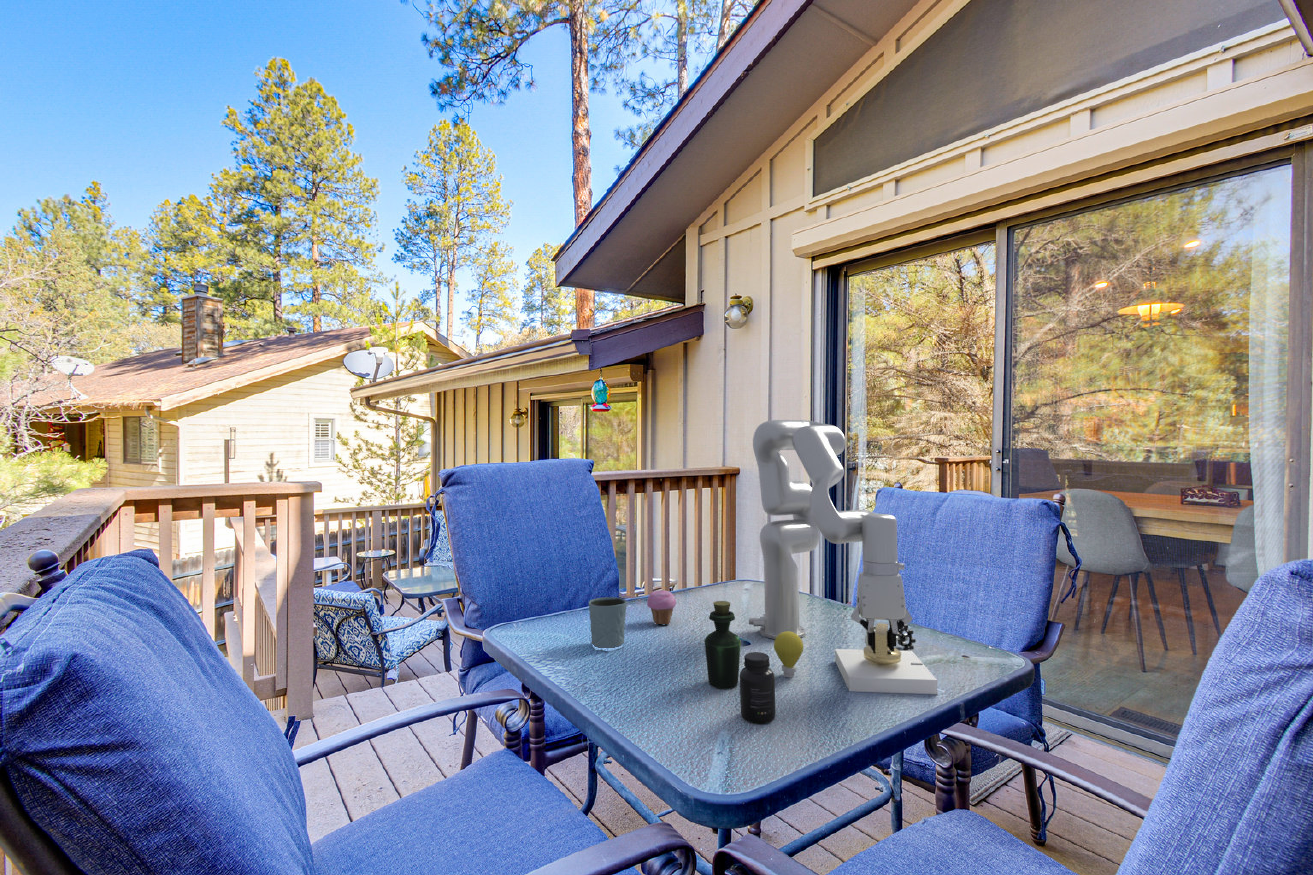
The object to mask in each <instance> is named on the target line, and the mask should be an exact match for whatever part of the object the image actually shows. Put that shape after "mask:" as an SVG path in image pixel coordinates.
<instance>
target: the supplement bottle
mask: <svg viewBox="0 0 1313 875" xmlns="http://www.w3.org/2000/svg"><path fill="white" fill-rule="evenodd" d="M743 660H744V661H743V666H744V667H742V669H741V670H740V671H739V697H740V699H739V702H740V704H739V705H740V716H741V718H742V719H743V720H744V721H745V722H748V723H750V724H753V725H754V724H755V725H766V724H769V723H771V722H773V721H774V720H775V719H776V715H777V714H776V680H775V679H776V677H775V673H774V671H773V670H772V669H771V667H770V665H771V663H770V656H769V655H768V654H766V653H765V652H759V651H752V652H751V651H750V652H747V653H746V654H744V659H743Z"/></svg>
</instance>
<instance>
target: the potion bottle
mask: <svg viewBox="0 0 1313 875" xmlns="http://www.w3.org/2000/svg"><path fill="white" fill-rule="evenodd" d="M712 604H713V607H714V610H713V611H711V612H710V613H709V616H708V619H709V620H710V621H713V624H714V628H715V630H714V631H712V632H710V633H709V634H707V635H706V637H705V639H704V641H703V642H704V650H705V658H706V659H705V661H706V670H707V680H708V684H709V685H710V686H711V687H712V688H716V689H720V690H728V689H734V688H735V687H737V685H738V683H739V678H740V660H741V646H742V644H741V643H742V642H741V639H740V637H739V636H738V635H737V634H736V633H734V632H732V631H731V630H730V626H731V622H733V621H735V620H736V615H735V614H734V612H733V611H730V608H731V602H730V601H726V600H716V601H713V603H712Z"/></svg>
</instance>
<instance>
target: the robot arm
mask: <svg viewBox="0 0 1313 875" xmlns="http://www.w3.org/2000/svg"><path fill="white" fill-rule="evenodd" d="M752 448H753V449H752V450H753V452H754V453H753V454H754V457H755V460H756V463H757V468H758V478H759V488H760V497H761V498H760V499H761V505H762V509H763V511H764V513H765V514H767V515H768V516H772V517H773V516H776V517H777V516H789V515H792V519H783V520H774V521H770V522H767V523H766V524H764V526H762V528H761V529H760V532H759V542H760V547H761V552H762V560H763V579H764V580H763V581H764V582H763V583H764V585H763V586H764V613H763V614H762V615H763V616H759V617H748V625H753V627H759V633H760V634H761V635H762V636H764V637H766V638H769V639H772V640H775V639H776V637H777V636H778V635H779V634H780V633H782V632H785V631H790V632H794V633H795V634H797V635H798V636H799V637H800V638H801V639H802V638H803V637H804V636H806V628H804V627H803V626H801V625H800V623H801V622H800V591H799V590H800V588H799V587H800V582H799V580H800V579H799V578H800V577H799V567H798V565H797V564H796V562H795V560H794V559H793V557H792V555H793V554H803V553H807V552H811V551H814V550H815V549H816V548H817V547H818V545H819V543H820V534H822V535H821V536H823V538H824V539H826V540H827V541H828V542H829V543H831V544H836V545H840V544H841V545H842V544H849V543H858V542H862V571H861V572H859V574H858V578H857V589H856V606H855V608H854V609H853V611H852V613H851V614H850V618H851V620H852V621H853V622H856V623H858V624H859V625H861V626H862V627H863V628H864V629H865V631H866V630H867V633H866V635H867V639H868V646H870V647H871V649H872V650H873V651H875V632H874V626H875V621H877V620H880V621H881V620H882V621H883V620H884V621H885V620H887V621H888V626H889V627H888V631H887V632H888V648H889V649H890V651H894V648H895V647H897V642H896V634H897V633H898V631H899V630H900V629H901V628H902V627H903V626H904V625H905V624H907V625H908V624H909V623H911V622H912V621H913V617H912V616H911V614H910V612H909V610H908V609H907V607H906V606H907V605H906V598H905V596H906V595H905V589H904V588H905V587H904V584H903V583H904V582H903V579H902V578H903V577H902V575H901V574H900V571H901V570H906V569H905V563H901V562H899V558H898V554H899V553H898V552H899V551H898V521H897V519H896V517H895V516H894V515H892V514H889V513H888V514H887V513H876V512H873V511H871V510H866V509H857V510H856V509H855V510H850V509H849V510H839V511H838V510H837V509H836V507H835V506H834V504H833V501H832V499H831V496H830V490H829V489H831V488H832V487H833V486H835V485H837V483H839V482H840V481H841V480H842V479H843V477H844V475H845V469H844V467H843V465H842V464H841V462H840V460H839V459H838V457H837V456H839V455H841V454H842V453H843V452H844V450H845V448H846V438H845V435H844V433H843V432H842V430H841V429H840V428H839V427H837V426H835V425H833V424H827V423H822V422H818V421H812V420H806V419H800V420H799V419H773V420H767V421H764V422H762V423H760V424H759V425H758V426H757V428H756V429H755V431H754V434H753V438H752ZM781 451H795V452H796V454H797V457H798V458H799V461H800V462H801V464H802V465H803V468H804V470H805V472H806V474H807V475H808V478H809V479H810V482H811V483H812V486H811V485H809V483H807V482H804V481H801V480H794V481H791V478H790V469H789V465H788V462H787V461H786V458H785V457H784V456H783V454H782V453H780V452H781ZM903 628H904V627H903Z"/></svg>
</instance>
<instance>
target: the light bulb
mask: <svg viewBox="0 0 1313 875" xmlns="http://www.w3.org/2000/svg"><path fill="white" fill-rule="evenodd" d="M773 648H774V652H775V653H776V655H777V657H778V660H780V662H781V663H782V665H781V671H782V672H783V676H784V677H786V678H794V677H795V673H796V672H797V666H796V664H797V663H798V661H799V660H800V658H801V656H802V654H803V651H804V642H803V640H802V637H801V638H800V637H799V636H798V635H797V634H795V633H794V632H790V631H785V632H782V633H780V634H779V635H778V636H777V637H776V639H774V641H773Z"/></svg>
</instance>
